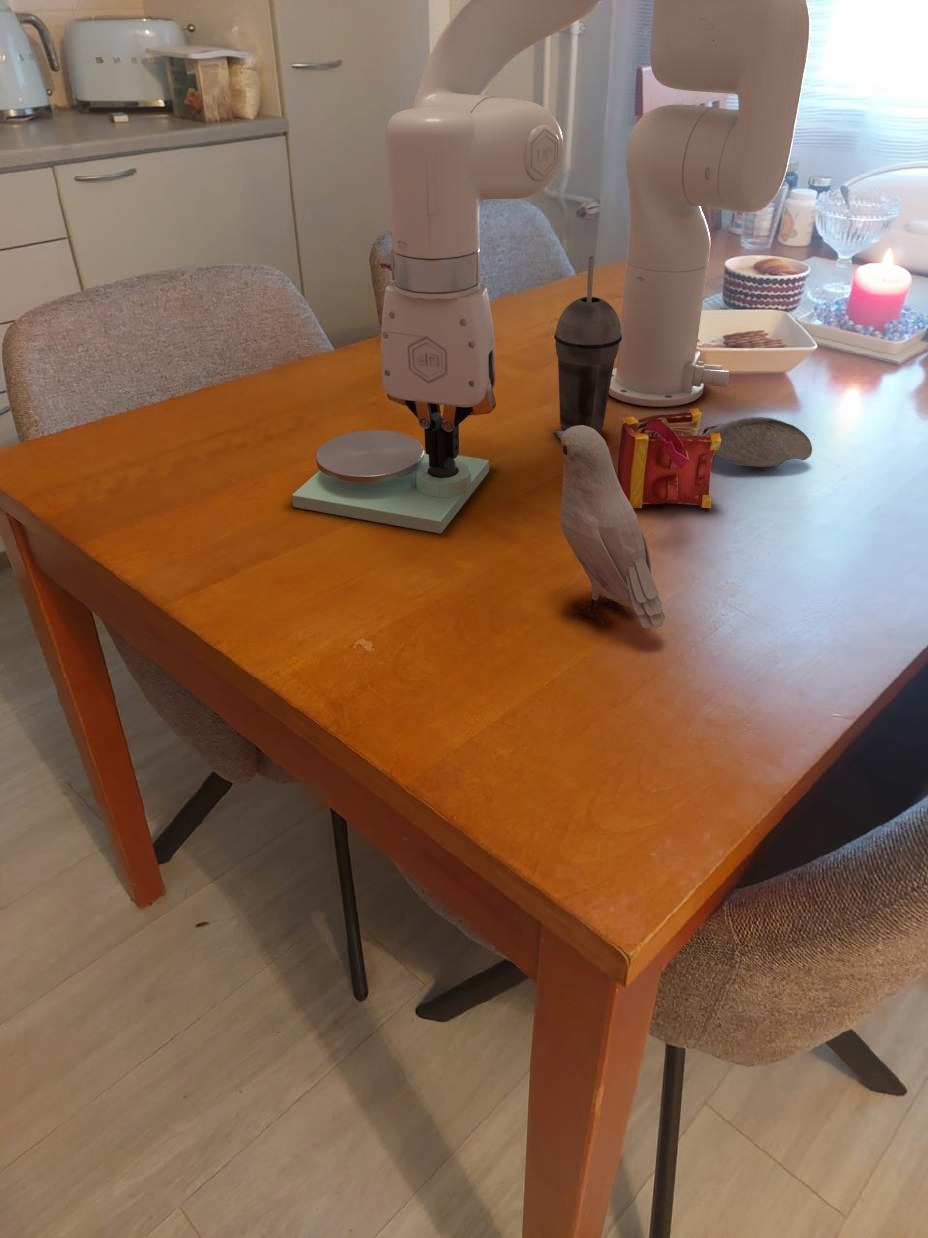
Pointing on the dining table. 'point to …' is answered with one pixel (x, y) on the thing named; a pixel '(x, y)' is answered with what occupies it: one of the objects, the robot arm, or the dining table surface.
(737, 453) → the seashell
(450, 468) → the button
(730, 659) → the dining table surface
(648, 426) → the book monster
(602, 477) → the bird
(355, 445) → the scale pan
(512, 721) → the dining table surface
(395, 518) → the scale
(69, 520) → the dining table surface
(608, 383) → the beverage cup
